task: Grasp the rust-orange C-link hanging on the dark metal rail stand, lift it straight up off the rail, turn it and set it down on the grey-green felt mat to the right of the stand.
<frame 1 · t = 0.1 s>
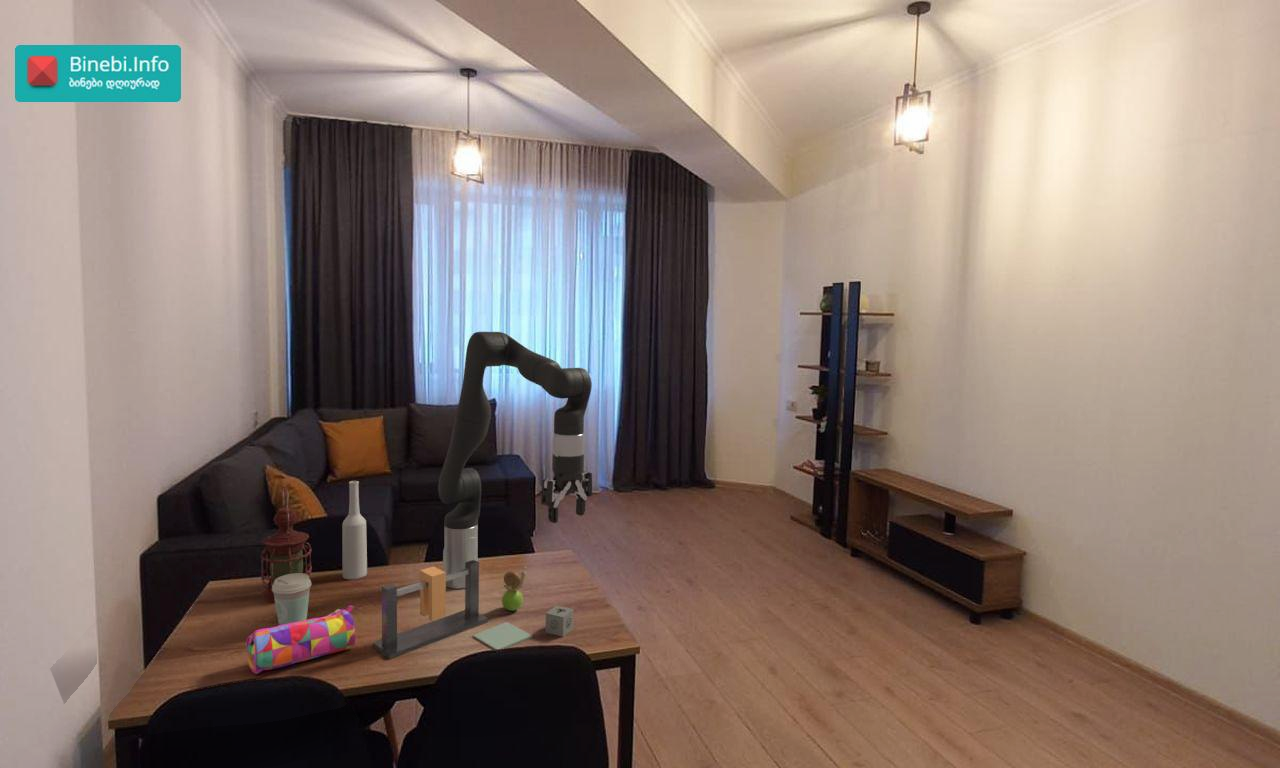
hand: (566, 518, 158), 29 cm above the table, fingers open, 8 cm apart
felt mat: (502, 636, 159), on the table
rail stand: (432, 633, 159), on the table
snail figurine: (514, 610, 173), on the table
lantern: (287, 595, 178), on the table
coffee cup: (292, 627, 161), on the table
pencil case: (303, 659, 146), on the table
c link: (432, 615, 159), point 5 cm above the table, touching rail stand
bottle: (354, 575, 193), on the table
dice cube: (559, 631, 163), on the table
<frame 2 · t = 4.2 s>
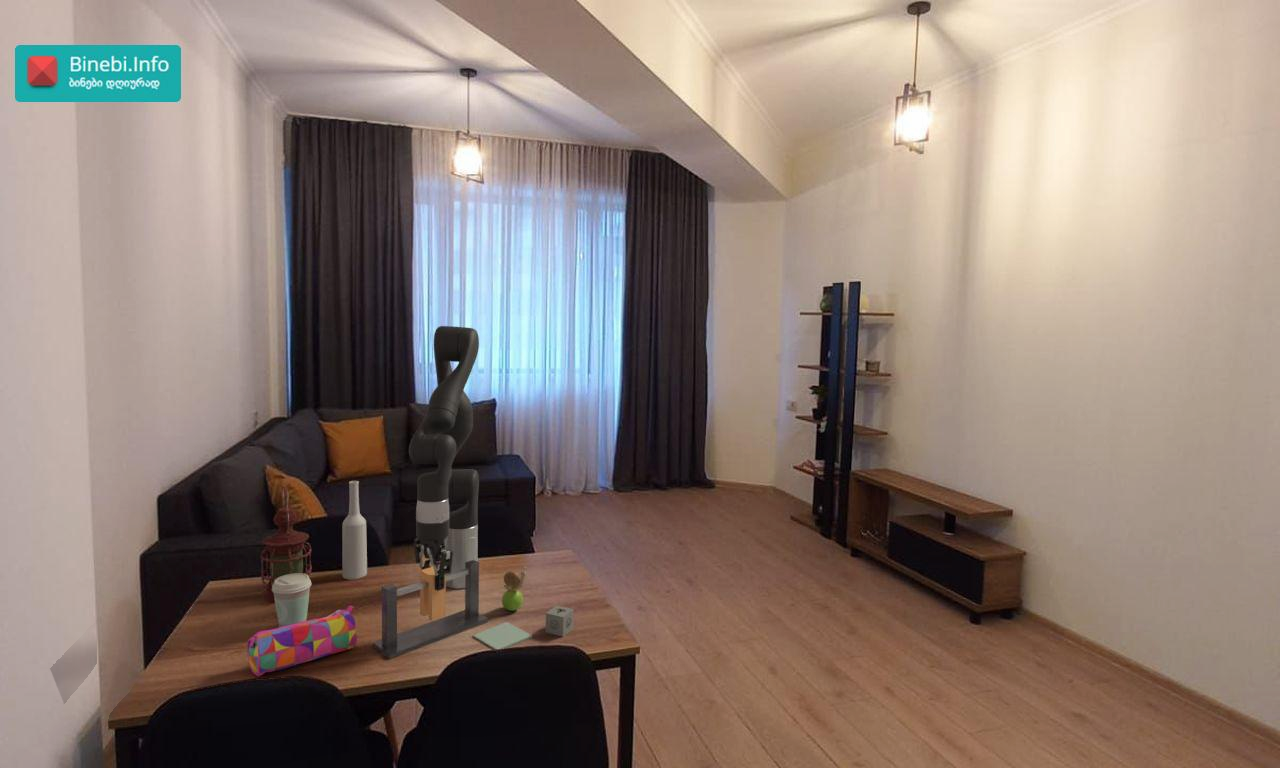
hand: (432, 585, 158), 12 cm above the table, fingers closed on c link, 5 cm apart
c link: (432, 615, 159), point 5 cm above the table, touching gripper, rail stand
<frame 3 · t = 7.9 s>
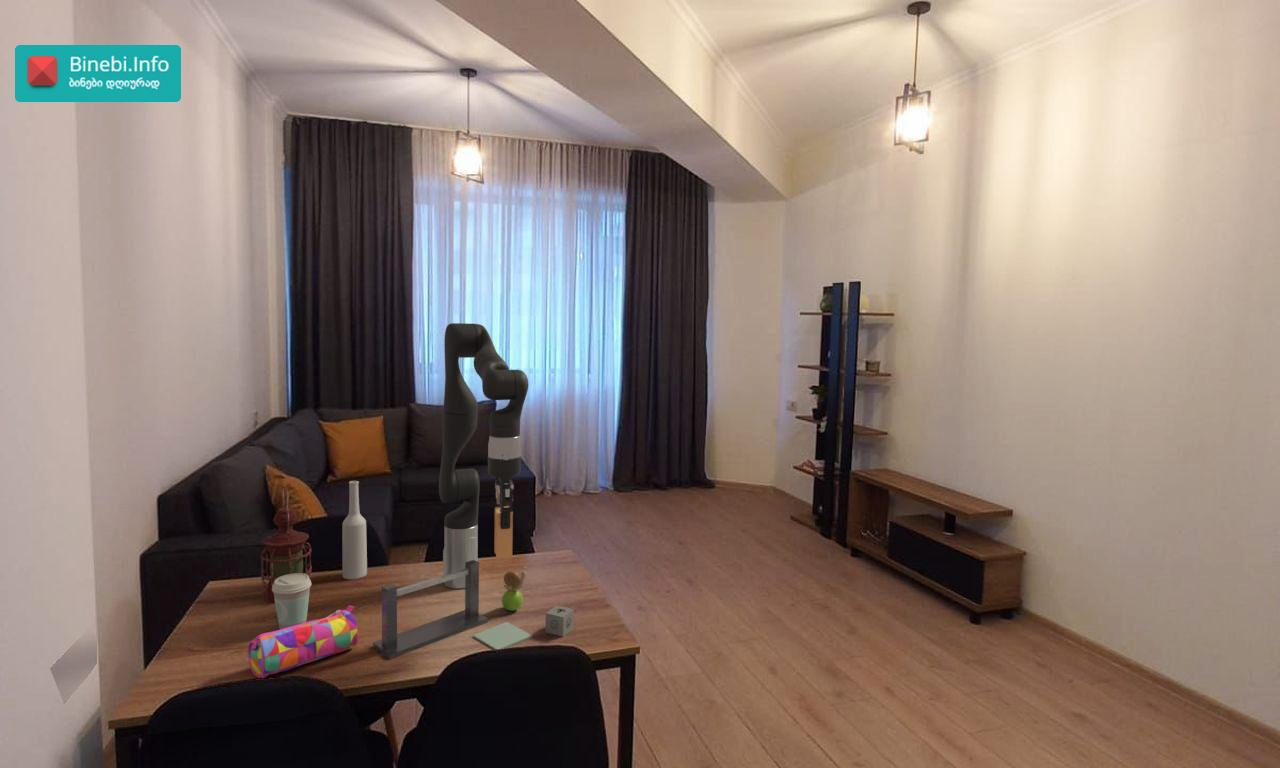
hand: (503, 524, 156), 28 cm above the table, fingers closed on c link, 5 cm apart
c link: (503, 554, 157), point 20 cm above the table, touching gripper
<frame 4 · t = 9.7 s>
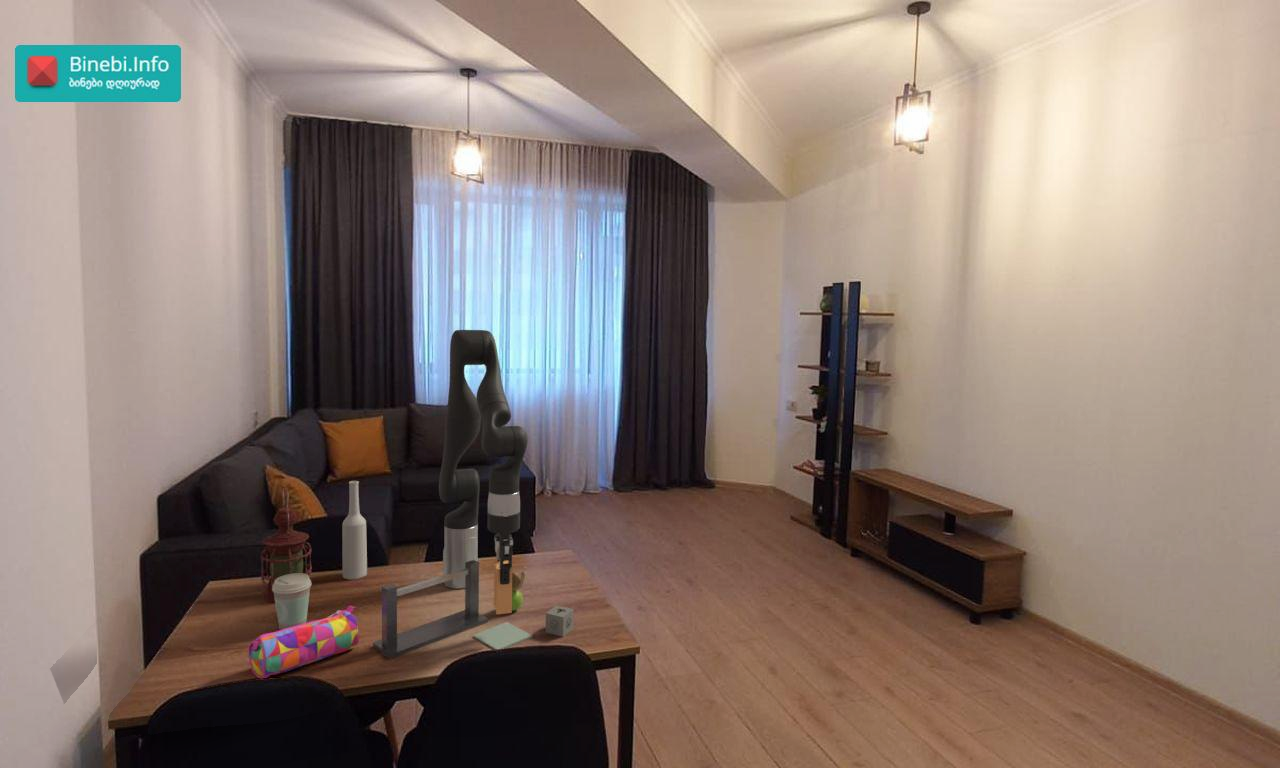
hand: (503, 578, 157), 15 cm above the table, fingers closed on c link, 5 cm apart
c link: (502, 608, 158), point 7 cm above the table, touching gripper
when the fingers open (9 cm above the table, at t = 11.5 s): c link drops 1 cm, resting on felt mat.
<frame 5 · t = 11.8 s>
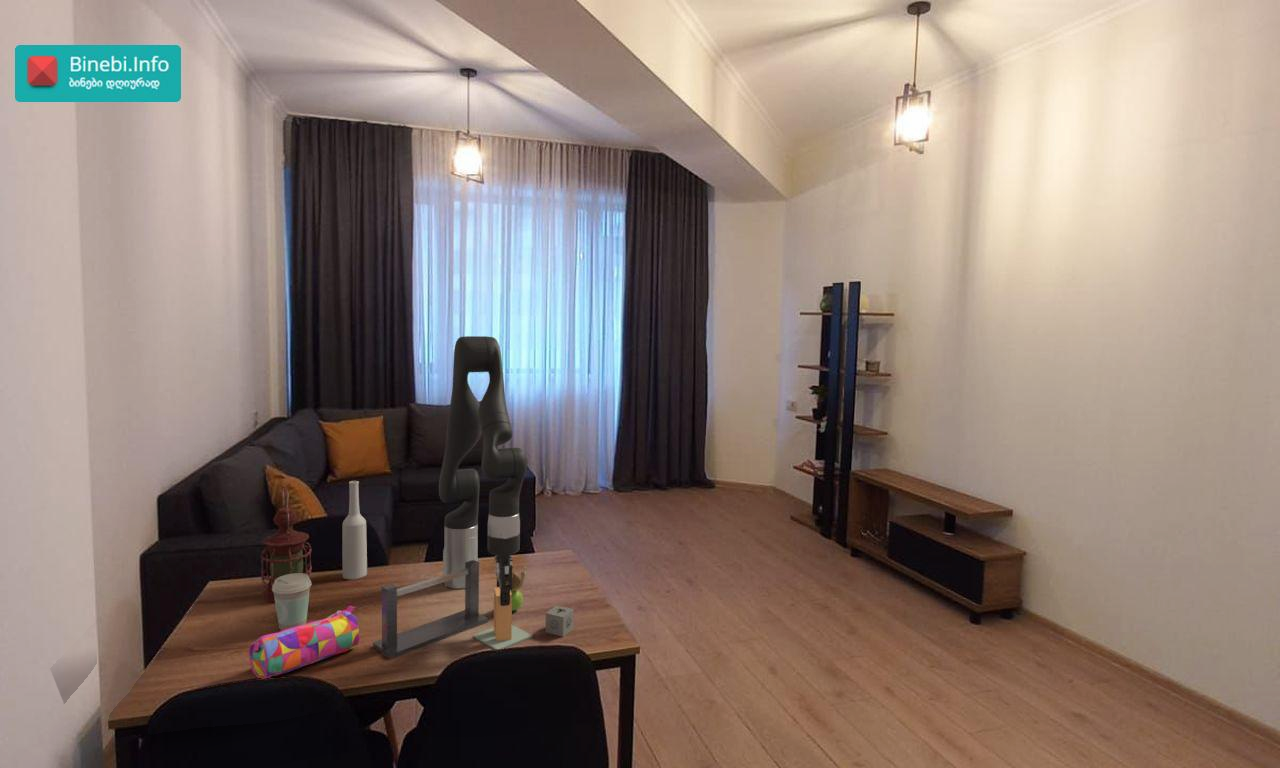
hand: (503, 598, 158), 10 cm above the table, fingers open, 7 cm apart
c link: (502, 635, 159), resting on felt mat
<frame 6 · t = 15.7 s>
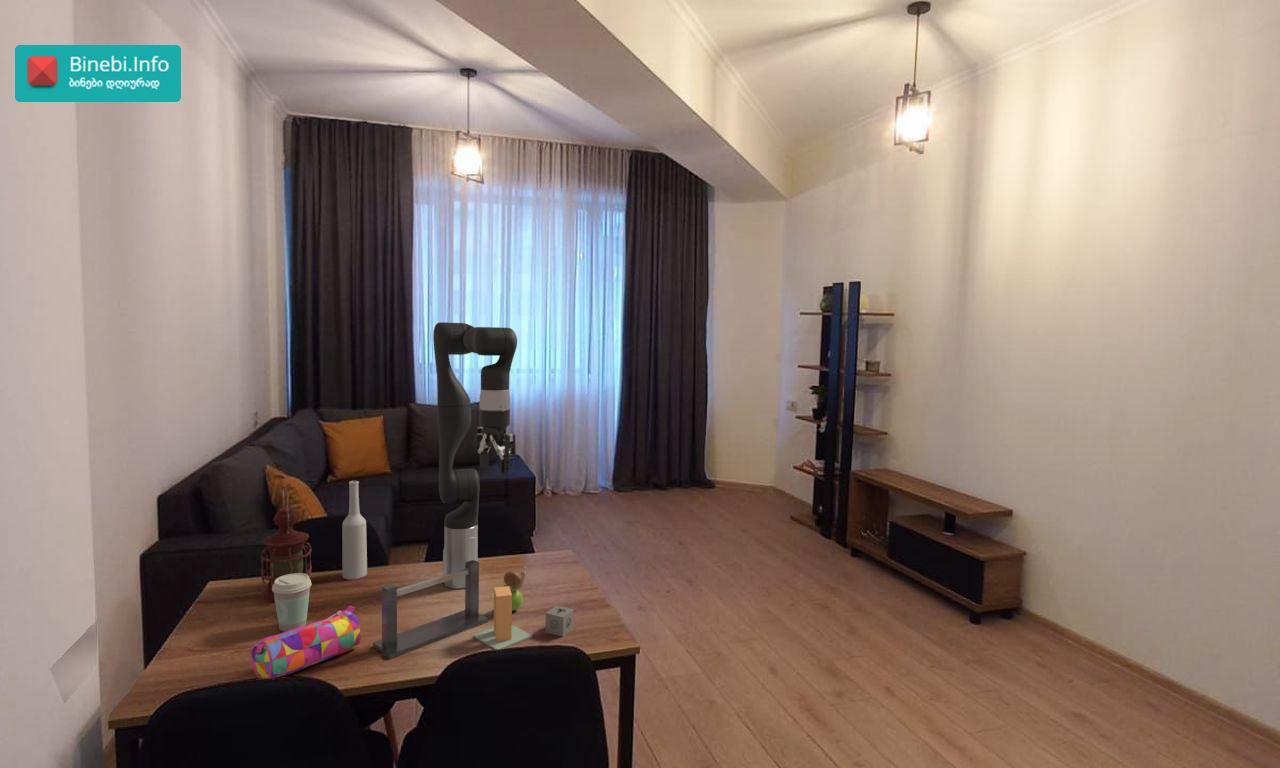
hand: (494, 470, 166), 38 cm above the table, fingers open, 8 cm apart
at the end: c link inside the target area on the felt mat (0.0 cm from its centre), point 0.4 cm above the felt mat's base; c link touching felt mat; the gripper is holding nothing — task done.
